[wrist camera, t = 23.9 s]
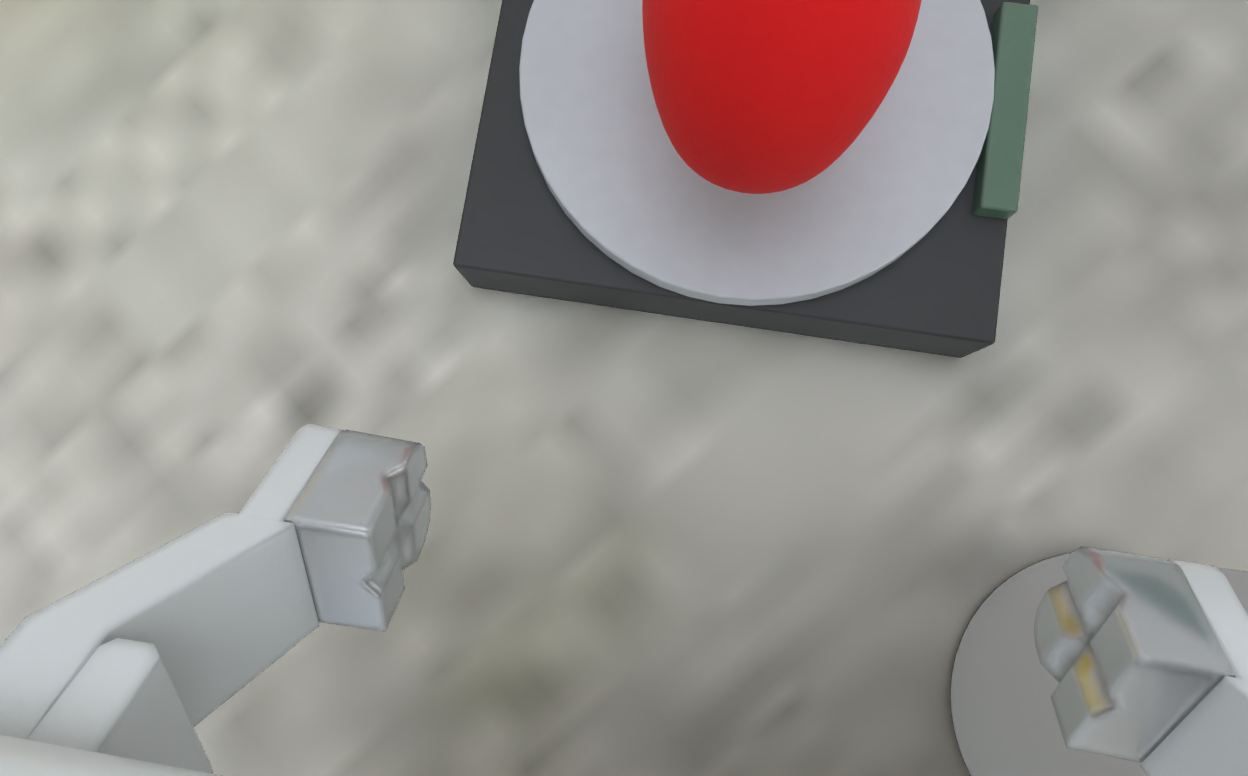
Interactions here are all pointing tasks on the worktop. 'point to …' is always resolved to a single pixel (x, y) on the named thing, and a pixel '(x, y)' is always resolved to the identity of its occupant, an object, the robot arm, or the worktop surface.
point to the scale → (752, 223)
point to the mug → (1022, 686)
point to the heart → (771, 81)
